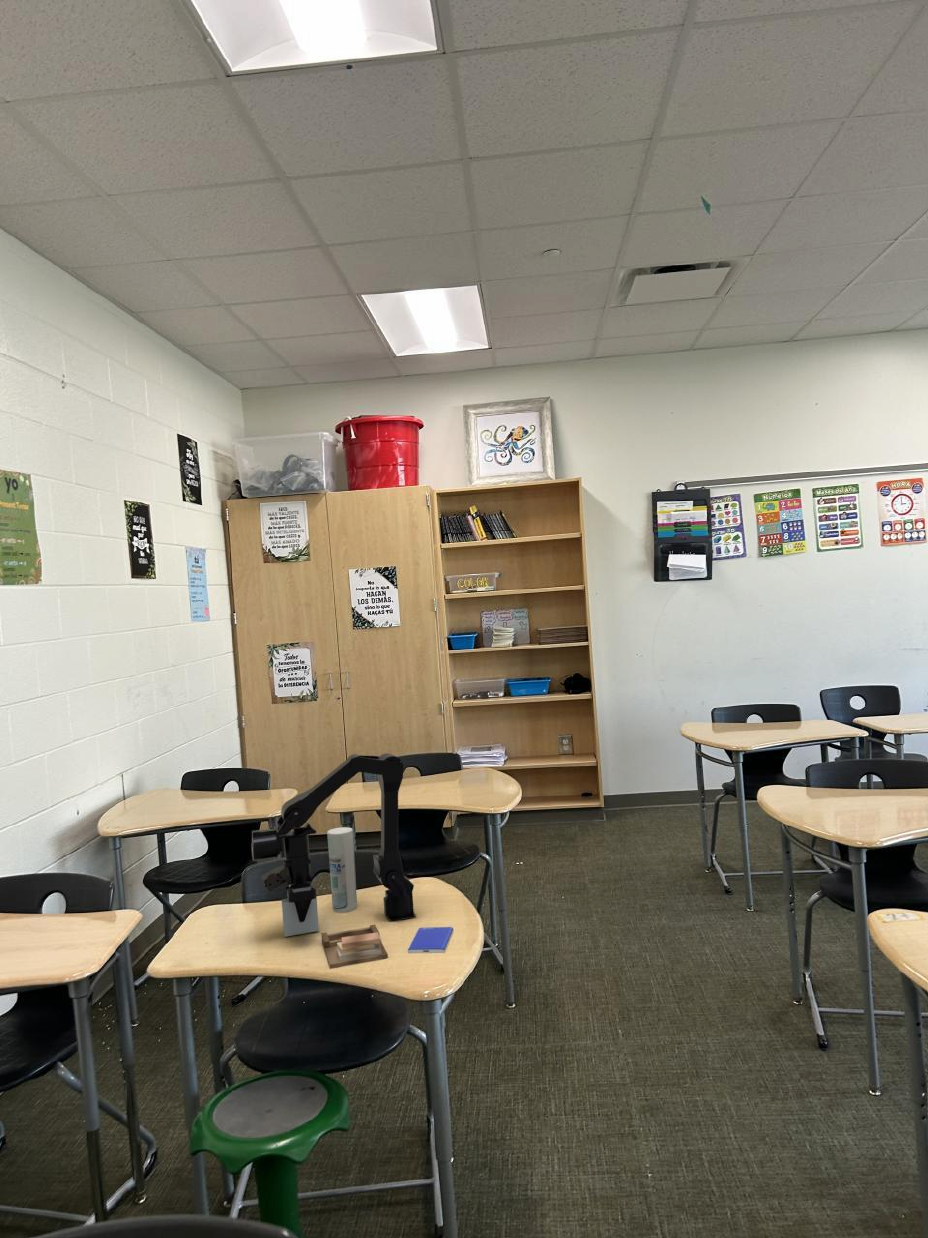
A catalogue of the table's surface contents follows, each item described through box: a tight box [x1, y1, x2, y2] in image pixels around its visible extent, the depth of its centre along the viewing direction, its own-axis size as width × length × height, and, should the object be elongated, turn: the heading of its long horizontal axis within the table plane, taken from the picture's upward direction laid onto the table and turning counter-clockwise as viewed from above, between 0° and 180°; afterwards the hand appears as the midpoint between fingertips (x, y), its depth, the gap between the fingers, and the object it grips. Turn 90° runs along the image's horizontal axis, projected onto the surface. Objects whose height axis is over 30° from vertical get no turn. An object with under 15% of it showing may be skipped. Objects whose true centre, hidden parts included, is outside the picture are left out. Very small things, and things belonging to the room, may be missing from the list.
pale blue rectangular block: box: [281, 896, 320, 937], centre depth 192 cm, size 8×2×8 cm, turn 106°
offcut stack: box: [337, 932, 382, 961], centre depth 176 cm, size 9×5×3 cm, turn 106°
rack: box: [321, 924, 389, 969], centre depth 180 cm, size 12×15×2 cm
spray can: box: [326, 826, 358, 914], centre depth 208 cm, size 6×6×20 cm
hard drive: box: [407, 926, 454, 954], centre depth 182 cm, size 2×8×12 cm
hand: (301, 920), depth 192 cm, fingers closed on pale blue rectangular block, 2 cm apart
